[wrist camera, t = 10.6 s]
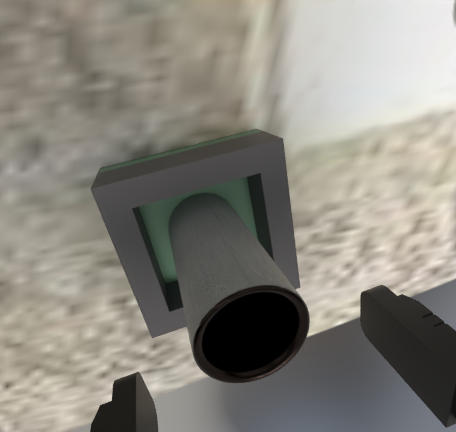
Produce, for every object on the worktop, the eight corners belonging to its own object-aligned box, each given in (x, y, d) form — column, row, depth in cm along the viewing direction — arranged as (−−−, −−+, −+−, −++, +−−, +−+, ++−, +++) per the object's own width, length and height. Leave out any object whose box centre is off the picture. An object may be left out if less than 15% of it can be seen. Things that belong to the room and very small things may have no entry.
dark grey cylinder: (215, 178, 20) (282, 262, 10) (247, 231, 22) (327, 341, 12) (153, 217, 19) (166, 336, 10) (191, 266, 21) (230, 403, 12)
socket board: (100, 168, 18) (90, 189, 15) (257, 129, 20) (282, 138, 16) (150, 298, 23) (152, 338, 19) (276, 257, 24) (300, 287, 21)
